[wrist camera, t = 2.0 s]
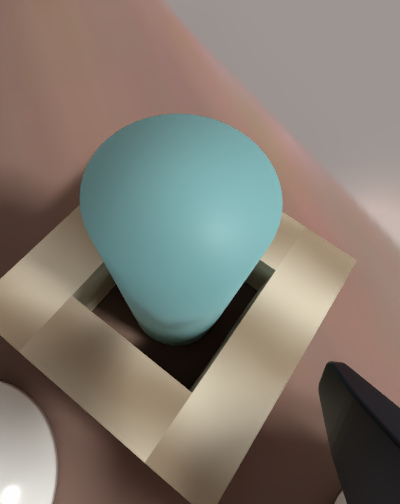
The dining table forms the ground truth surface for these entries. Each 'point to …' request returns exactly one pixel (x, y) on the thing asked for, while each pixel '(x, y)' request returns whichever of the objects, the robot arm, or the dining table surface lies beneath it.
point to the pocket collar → (153, 376)
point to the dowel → (180, 219)
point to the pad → (26, 450)
